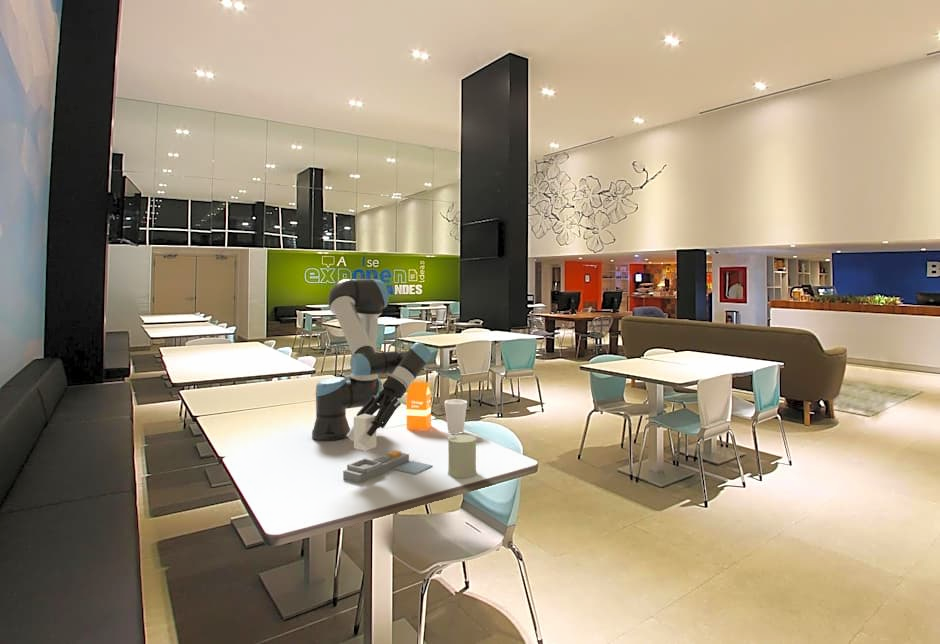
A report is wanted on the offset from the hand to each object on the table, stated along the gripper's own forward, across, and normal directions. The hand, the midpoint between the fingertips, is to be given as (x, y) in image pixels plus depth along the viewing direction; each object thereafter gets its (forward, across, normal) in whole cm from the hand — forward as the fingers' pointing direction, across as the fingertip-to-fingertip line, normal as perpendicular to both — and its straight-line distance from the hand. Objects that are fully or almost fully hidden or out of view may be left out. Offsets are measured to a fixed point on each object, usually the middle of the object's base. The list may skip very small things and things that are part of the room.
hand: (355, 440), depth 159 cm
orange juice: (-27, +35, -46) cm, 64 cm away
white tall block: (0, 0, -5) cm, 5 cm away
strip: (+2, +2, -15) cm, 15 cm away
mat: (-5, -5, -22) cm, 23 cm away
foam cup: (-32, +18, -51) cm, 63 cm away
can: (-11, -20, -28) cm, 36 cm away
